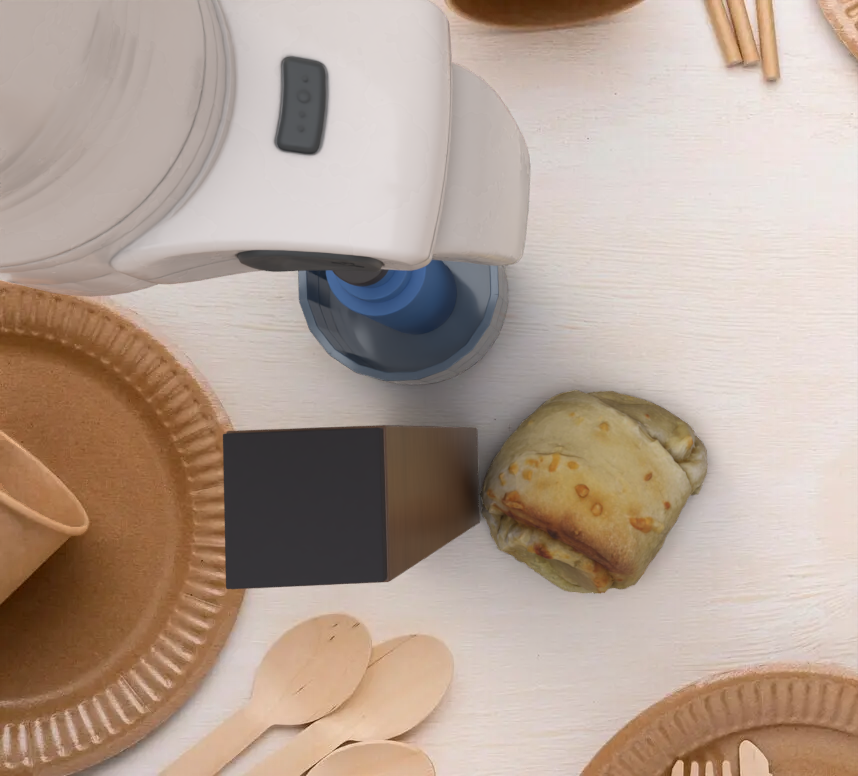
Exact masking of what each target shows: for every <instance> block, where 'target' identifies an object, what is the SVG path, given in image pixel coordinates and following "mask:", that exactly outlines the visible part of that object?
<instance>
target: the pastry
mask: <svg viewBox="0 0 858 776" xmlns="http://www.w3.org/2000/svg"><path fill="white" fill-rule="evenodd" d="M707 451H708V450H707V448H706V446H705V445H704V443H703V441H702V440H701V439H700V438H699V437H698V436H697V435H696V434H695V430H694V428H692V426H691V425H690V424H689V423H688V422H686V421H685V420H683V419H681V418H680V417H678V416H677V415H676V414H674V413H672V412H670V411H669V410H667V409H666V408H664V407H662V406H660V405H658V404H657V403H653V402H651V401H650V400H646V399H644V398H640V397H637V396H632V395H628V394H624V393H619V392H617V391H614V390H600V391H590V392H587V393H586V392H584V391H580V390H579V389H572V390H569V391H564V392H560V393H558V394H555V395H554V396H551V397H550V398H548V399H547V400H546V401H545V402H544V403H543V402H542V404H541V405H540V406H539V407H537V408H536V409H535V410H534V411H533V412H532V413H531V414H529V416H528V417H527V418H525V419H523V420H522V421H521V423H520V424H518V426H517V428H516V429H515V430H514V431H513V432H512V433H511V434H510V435H509V437H508V438H507V439H506V440H505V441H504V443H503V444H502V446H501V448H500V450H499V451H498V452H497V454H496V455H495V456H494V457H493V459H492V461H491V462H490V464H489V466H488V468H487V470H486V473H485V477H484V479H483V482H482V485H481V488H480V490H479V497H480V499H481V503H482V505H481V511H480V514H481V515H482V517H483V519H484V520H485V521H486V523H487V527H488V529H489V533H490V536H491V538H492V539H493V540H494V543H495V545H496V548H497V550H499V551H500V552H503V553H505V554H508V555H509V556H512V557H513V558H514V559H515V560H516V561H517V562H520V563H523V564H525V565H527V567H528V568H529V569H531V570H533V571H534V572H535V573H537V574H539V575H540V576H541V577H542V578H544V579H545V580H546V581H548V582H549V583H551V584H552V585H554V586H556V587H558V588H559V589H561V590H562V591H564V592H568V593H579V594H592V593H593V594H594V595H595V594H600V595H601V594H605V593H607V592H608V590H610V589H611V590H612V589H616V590H626V589H629V588H630V587H633V586H635V585H636V584H637V583H638V582H639V581H640V579H641V578H642V577H643V575H645V572H646V570H647V569H648V567H649V566H650V564H651V563H652V562H653V560H654V559H655V558H656V557H657V556H658V553H660V551H661V550H662V548H663V546H664V544H665V541H666V538H667V536H668V535H669V533H670V532H671V530H672V528H673V527H674V526H675V524H676V523H677V521H678V519H679V518H680V514H681V513H682V511H683V508H685V506H686V504H687V502H688V499H689V498H690V496H698V495H699V494H700V492H701V490H702V488H703V485H704V483H705V480H706V477H707V475H708V467H709V463H708V452H707Z"/></svg>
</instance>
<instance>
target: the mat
mask: <svg viewBox="0 0 858 776" xmlns="http://www.w3.org/2000/svg"><path fill="white" fill-rule="evenodd" d="M222 457H223V458H222V459H223V460H222V461H223V462H222V463H223V464H222V465H223V468H222V469H223V513H224V514H223V517H224V518H223V519H224V561H225V563H224V564H225V589H226V590H244V589H243V588H253V589H265V588H264V587H274V588H287V587H286V586H296V587H308V586H307V585H317V586H329V585H328V584H338V585H351V584H350V583H360V584H372V583H371V582H381V583H384V582H383V581H385V580H387V560H386V523H385V485H384V447H383V428H358V429H331V430H304V431H277V432H250V433H227V432H225V433H223V434H222Z"/></svg>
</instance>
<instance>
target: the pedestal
mask: <svg viewBox="0 0 858 776" xmlns="http://www.w3.org/2000/svg"><path fill="white" fill-rule="evenodd" d="M358 428H383V447H384V485H385V523H386V560H387V580H385V581H383V582H371V583H370V584H376V583H377V584H378V583H379V584H380V583H389V582H392V581H393V580H394V579H396V578H398V577H399V576H401V575H402V574H404V573H405V572H406V571H408V570H410V569H411V568H413V567H414V566H415V565H417V564H419V563H421V562H422V561H424V560H425V559H426V558H428V557H430V556H431V555H433V554H435V553H436V552H437V551H439V550H440V549H442V548H444V547H445V546H446V545H448V544H449V543H451V542H452V541H454V540H456V539H457V538H458V537H460V536H462V535H463V534H465V533H467V532H468V531H469V530H471V529H473V528H474V527H475V526H477V525H478V524H480V523H481V511H480V477H479V475H480V474H479V445H478V444H479V442H478V427H474V426H435V425H433V426H432V425H431V426H430V425H399V424H398V425H394V424H392V425H391V424H379V425H351V426H350V425H348V426H326V427H325V426H323V427H296V428H295V427H294V428H293V427H292V428H271V429H270V428H269V429H268V428H267V429H241V430H240V429H239V430H228V431H226V433H250V432H277V431H304V430H331V429H358ZM356 584H357V585H358V584H359V585H360V584H361V583H350V584H349V585H356ZM336 585H339V584H328V585H327V586H336ZM313 586H314V587H315V586H318V585H307V586H306V587H313ZM293 587H296V588H297V586H286V587H285V588H293ZM270 588H271V589H275V587H264V588H263V589H270ZM249 589H251V590H252V589H254V588H243V589H242V590H249Z"/></svg>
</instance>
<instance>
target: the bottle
mask: <svg viewBox="0 0 858 776" xmlns="http://www.w3.org/2000/svg"><path fill="white" fill-rule="evenodd" d="M326 276H327V281H328V284H329V286H330V288H331V290H332V292H333V294H334V295H335V296H336V298H337V299H338V300H339V301H340V302H341V303H342V304H343V305H344V306H346V307H347V308H349V309H350V310H352V311H354V312H356V313H359V314H361V315H363V316H365V317H368V318H370V319H372V320H374V321H376V322H379V323H381V324H383V325H385V326H388V327H390V328H392V329H394V330H397V331H399V332H402V333H406V334H423V333H427V332H430V331H432V330H434V329H436V328H438V327H439V326H440V325H442V324H443V323H444V322H445V321H446V320H447V319H448V317H449V316H450V314H451V313H452V311H453V309H454V306H455V303H456V297H457V289H456V283H455V279H454V277H453V275H452V273H451V271H450V270H449V268H448V267H447V266H446V265H445V264H444V262H442V261H441V260H431V262H430V263H429V264H428V265H426V266H425V267H423V268H420V269H417V270H412V271H406V270H387V269H380V271H376V272H367V271H337V270H326Z"/></svg>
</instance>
